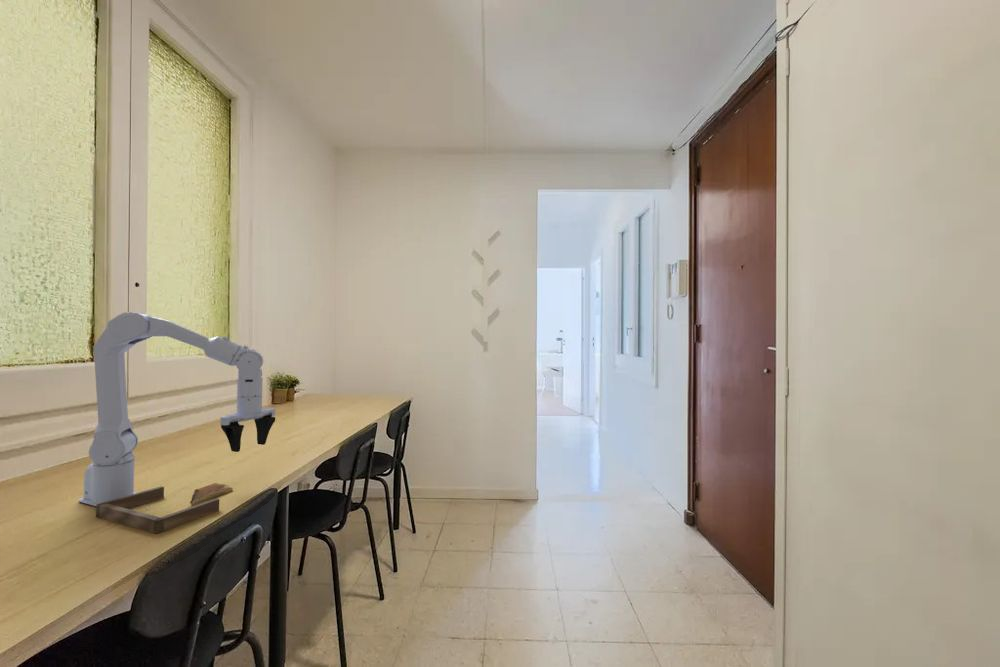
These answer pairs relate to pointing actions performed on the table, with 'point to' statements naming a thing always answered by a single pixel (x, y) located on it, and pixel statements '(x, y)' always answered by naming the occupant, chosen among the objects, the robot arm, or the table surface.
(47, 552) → the table surface
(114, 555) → the table surface
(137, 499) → the frame
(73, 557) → the table surface
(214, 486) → the shard
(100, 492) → the robot arm
